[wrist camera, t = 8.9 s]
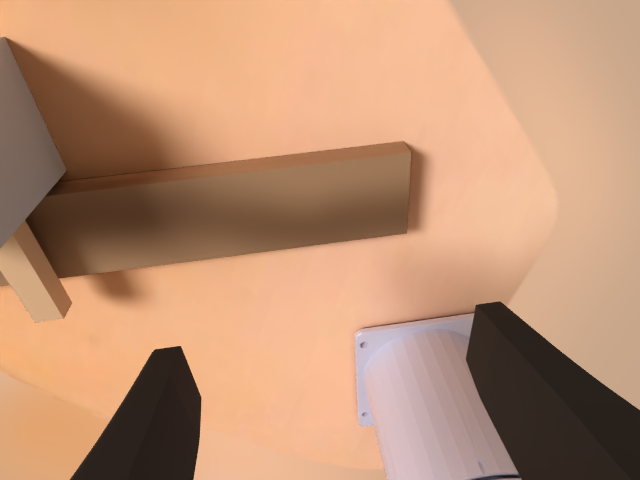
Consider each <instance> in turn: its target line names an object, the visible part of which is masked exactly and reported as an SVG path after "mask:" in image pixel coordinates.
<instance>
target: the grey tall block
mask: <svg viewBox="0 0 640 480" xmlns="http://www.w3.org/2000/svg"><path fill="white" fill-rule="evenodd" d="M66 171H67V169H66V167H65V165H64V163H63V161H62V158H61V156H60V154H59V152H58V150H57V148H56V145H55V143H54V141H53V139H52V137H51V135H50V133H49V130H48V128H47V126H46V124H45V122H44V120H43V118H42V115H41V113H40V111H39V109H38V107H37V105H36V102H35V100H34V98H33V96H32V94H31V92H30V90H29V87H28V85H27V83H26V81H25V79H24V77H23V74H22V72H21V70H20V68H19V66H18V64H17V62H16V59H15V57H14V55H13V53H12V51H11V49H10V47H9V44H8V42H7V40H6V38H5V37H0V271H1V272H2V274H3V275H4V277H5V278H6V280H7V281H8V283H9V284H10V286H11V287H12V289H13V290H14V292H15V293H16V295H17V296H18V298H19V299H20V301H21V302H22V304H23V305H24V307H25V308H26V310H27V311H28V313H29V314H30V316H31V317H32V319H33V320H34V322H35V323H37V322H45V321H52V320H60V319H64V318H65V316H66V314H67V312H68V310H69V308H70V306H71V304H72V302H71V300H70V298H69V296H68V295H67V293H66V291H65V289H64V288H63V286H62V284H61V282H60V281H59V279H58V277H57V275H56V273H55V272H54V270H53V268H52V266H51V265H50V263H49V261H48V259H47V258H46V256H45V254H44V252H43V251H42V249H41V247H40V245H39V244H38V242H37V240H36V238H35V237H34V235H33V233H32V231H31V230H30V228H29V226H28V224H27V223H26V221H25V219H26V218H27V217H28V216H29V215H30V213H31V212H32V211H33V210H34V209H35V207H36V206H37V205H38V204H39V203H40V202H41V200H42V199H43V198H44V197H45V196H46V194H47V193H48V192H49V191H50V190H51V189H52V187H53V186H54V185H55V184H56V183H57V181H58V180H59V179H60V178H61V177H62V176H63V174H64V173H65V172H66Z"/></svg>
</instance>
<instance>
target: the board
mask: <svg viewBox="0 0 640 480" xmlns="http://www.w3.org/2000/svg"><path fill="white" fill-rule="evenodd" d="M410 168H411V152H410V150H409V149H408V147H407V146H406V145H405V143H404V142H403V141H402V142H394V143H385V144H377V145H369V146H360V147H352V148H343V149H335V150H326V151H318V152H309V153H301V154H292V155H284V156H275V157H267V158H258V159H250V160H242V161H233V162H225V163H216V164H208V165H199V166H191V167H182V168H174V169H165V170H157V171H148V172H140V173H131V174H123V175H115V176H106V177H98V178H89V179H81V180H72V181H64V182H57V183H56V184H55V185H54V186H53V187H52V189H51V190H50V191H49V192H48V193H47V194H46V196H45V197H44V198H43V199H42V200H41V202H40V203H39V204H38V205H37V206H36V207H35V209H34V210H33V211H32V212H31V213H30V215H29V216H28V217H27V218H26V219H25V221H26V223H27V224H28V226H29V228H30V230H31V231H32V233H33V235H34V237H35V238H36V240H37V242H38V244H39V245H40V247H41V249H42V251H43V252H44V254H45V256H46V258H47V259H48V261H49V263H50V265H51V266H52V268H53V270H54V272H55V273H56V275H57V277H58V278H66V277H73V276H81V275H89V274H97V273H104V272H112V271H120V270H127V269H135V268H143V267H151V266H158V265H166V264H174V263H182V262H189V261H197V260H205V259H212V258H220V257H228V256H236V255H243V254H251V253H259V252H267V251H274V250H282V249H290V248H297V247H305V246H313V245H321V244H328V243H336V242H344V241H352V240H359V239H367V238H375V237H382V236H390V235H398V234H406V233H407V224H408V205H409V187H410ZM4 285H10V284H9V283H8V281H7V280H6V278H5V277H4V275H3V274H2V272H1V271H0V286H4Z"/></svg>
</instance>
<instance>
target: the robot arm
mask: <svg viewBox="0 0 640 480" xmlns="http://www.w3.org/2000/svg"><path fill="white" fill-rule="evenodd" d="M354 339H355V364H356V388H357V413H358V423H359V425H361V426H372V425H374V428H375V432H376V436H377V440H378V445H379V449H380V453H381V457H382V462H383V466H384V470H385V474H386V479H387V480H640V410H639V409H637V408H636V407H634V406H633V405H631V404H630V403H629V402H627V401H626V400H625V399H623V398H622V397H620V396H619V395H617V394H616V393H614V392H613V391H612V390H610V389H609V388H608V387H606V386H605V385H604V384H602V383H601V382H600V381H598V380H597V379H596V378H594V377H593V376H592V375H590V374H589V373H588V372H586V371H585V370H584V369H582V368H581V367H580V366H579V365H577V364H576V363H575V362H573V361H572V360H571V359H570V358H568V357H567V356H566V355H565V354H563V353H562V352H561V351H560V350H558V349H557V348H556V347H555V346H553V345H552V344H551V343H549V342H548V341H547V340H546V339H545V338H543V337H542V336H541V335H540V334H539V333H537V332H536V331H535V330H534V329H533V328H531V327H530V326H529V325H528V324H527V323H525V322H524V321H523V320H522V319H521V318H519V317H518V316H517V315H516V314H514V313H513V312H512V311H511V310H510V309H509V308H507V307H506V306H505V305H504V304H503V303H501V302H493V303H486V304H479V305H476V308H475V313H471V314H464V315H457V316H450V317H443V318H435V319H428V320H421V321H414V322H407V323H400V324H393V325H386V326H378V327H371V328H364V329H360V330H358V331H357V332H356V333H355V335H354ZM363 342H364V343H363ZM200 420H201V396H200V393H199V391H198V388H197V386H196V383H195V381H194V378H193V375H192V373H191V370H190V368H189V365H188V363H187V360H186V358H185V355H184V353H183V350H182V348H181V346H177V347H170V348H163V349H156V350H154V351H153V352H152V354H151V355H150V357H149V359H148V360H147V362H146V364H145V365H144V367H143V369H142V371H141V372H140V374H139V376H138V377H137V379H136V381H135V382H134V384H133V386H132V387H131V389H130V390H129V392H128V394H127V395H126V397H125V399H124V400H123V402H122V403H121V405H120V407H119V408H118V410H117V411H116V413H115V414H114V416H113V417H112V419H111V421H110V422H109V424H108V425H107V427H106V428H105V430H104V431H103V433H102V434H101V436H100V437H99V439H98V441H97V442H96V443H95V445H94V446H93V448H92V449H91V451H90V452H89V454H88V455H87V456H86V458H85V459H84V461H83V462H82V464H81V465H80V466H79V468H78V469H77V471H76V472H75V473H74V475H73V476H72V478H71V479H70V480H193V478H194V472H195V465H196V459H197V453H198V446H199V438H200Z"/></svg>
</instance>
